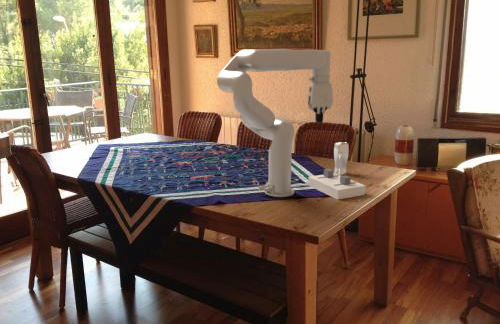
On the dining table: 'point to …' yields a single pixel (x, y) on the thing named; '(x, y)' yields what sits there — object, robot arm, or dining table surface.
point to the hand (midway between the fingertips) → (319, 122)
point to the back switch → (328, 173)
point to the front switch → (345, 179)
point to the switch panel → (336, 186)
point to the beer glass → (340, 157)
